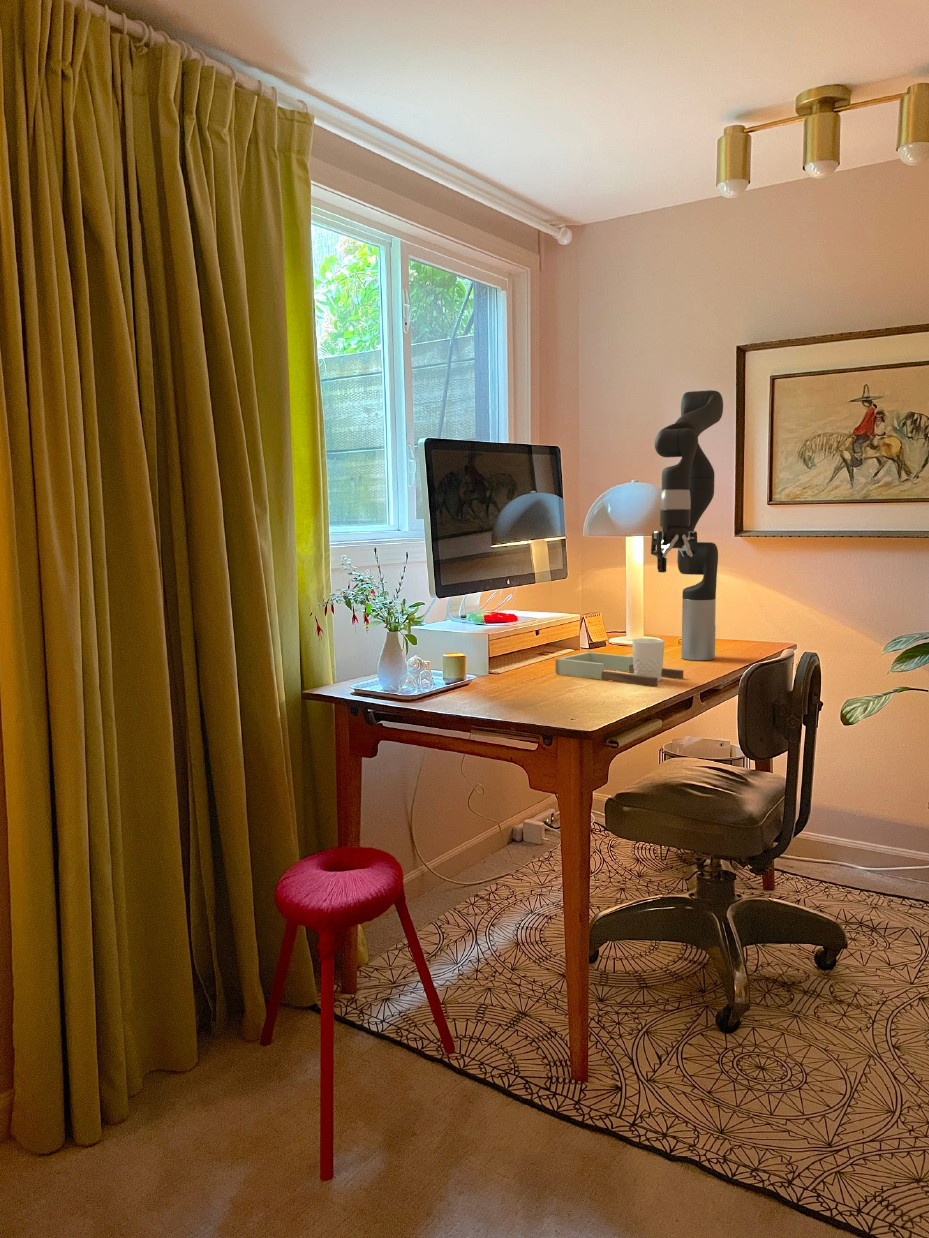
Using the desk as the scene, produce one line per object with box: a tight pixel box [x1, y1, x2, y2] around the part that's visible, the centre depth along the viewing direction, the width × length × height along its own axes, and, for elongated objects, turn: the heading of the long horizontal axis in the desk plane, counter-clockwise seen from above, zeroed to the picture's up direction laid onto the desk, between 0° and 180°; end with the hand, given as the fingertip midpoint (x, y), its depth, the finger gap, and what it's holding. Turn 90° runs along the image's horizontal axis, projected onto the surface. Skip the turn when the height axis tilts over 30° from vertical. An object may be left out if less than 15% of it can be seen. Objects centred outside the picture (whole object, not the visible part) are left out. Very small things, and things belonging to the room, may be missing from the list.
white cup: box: [631, 638, 665, 682], centre depth 237 cm, size 8×8×10 cm
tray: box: [555, 651, 633, 681], centre depth 248 cm, size 15×14×4 cm
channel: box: [601, 665, 684, 687], centre depth 239 cm, size 15×15×2 cm
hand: (674, 572), depth 241 cm, fingers open, 8 cm apart
